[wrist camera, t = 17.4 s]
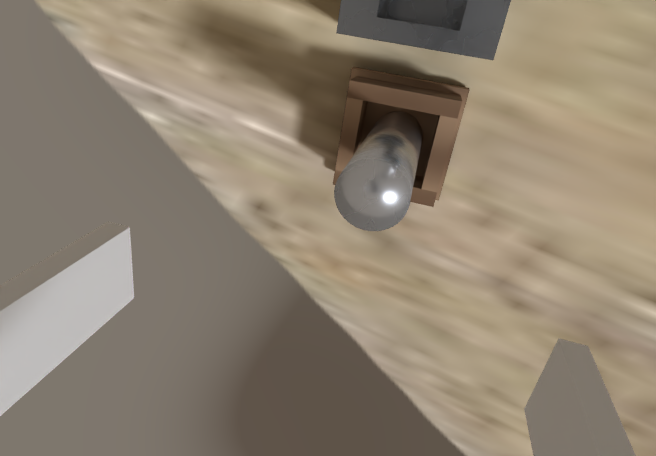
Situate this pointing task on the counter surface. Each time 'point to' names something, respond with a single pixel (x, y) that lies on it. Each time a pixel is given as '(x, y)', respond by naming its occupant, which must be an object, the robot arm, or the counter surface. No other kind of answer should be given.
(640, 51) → the counter surface
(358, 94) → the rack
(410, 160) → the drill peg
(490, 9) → the chuck block
